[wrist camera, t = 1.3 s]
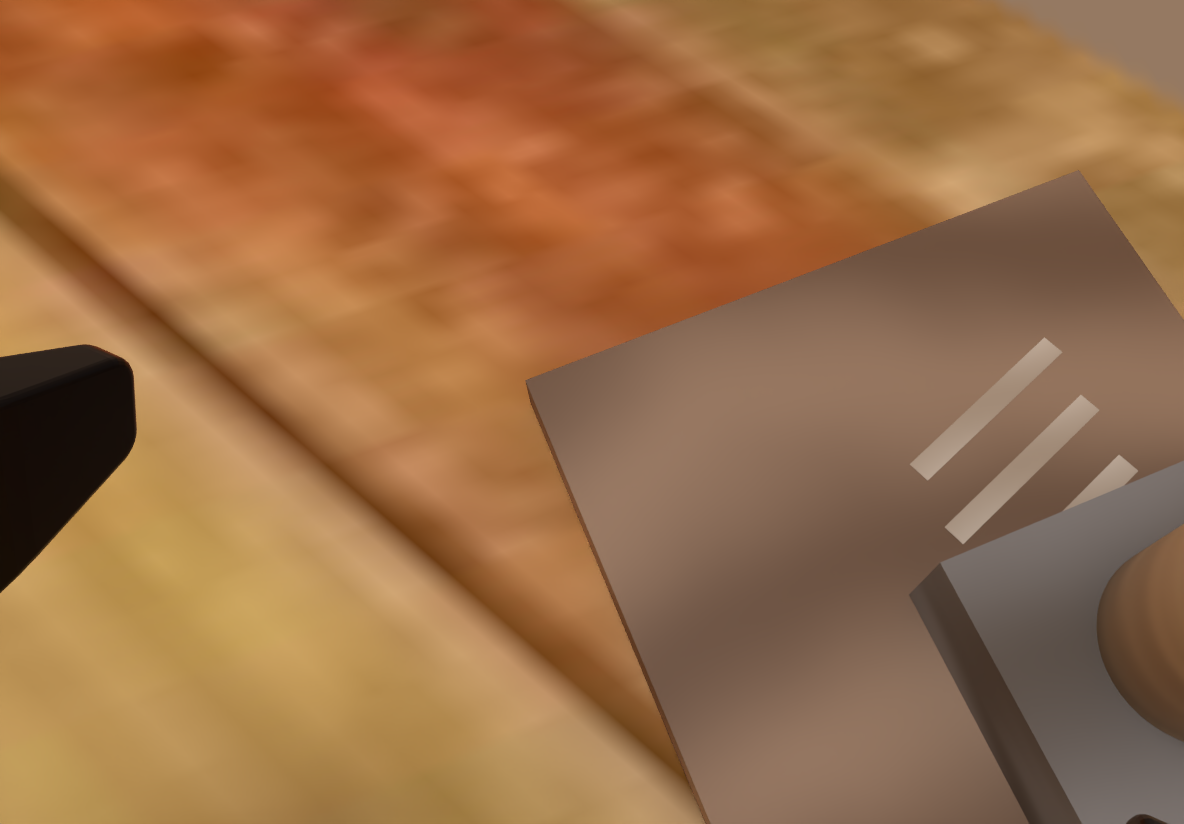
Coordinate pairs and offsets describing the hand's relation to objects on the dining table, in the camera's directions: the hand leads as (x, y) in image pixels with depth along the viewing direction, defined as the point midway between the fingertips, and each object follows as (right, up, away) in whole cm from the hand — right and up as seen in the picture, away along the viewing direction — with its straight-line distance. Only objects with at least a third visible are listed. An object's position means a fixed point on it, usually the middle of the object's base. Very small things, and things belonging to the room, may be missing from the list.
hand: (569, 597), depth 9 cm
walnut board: (+8, -2, +15) cm, 17 cm away
